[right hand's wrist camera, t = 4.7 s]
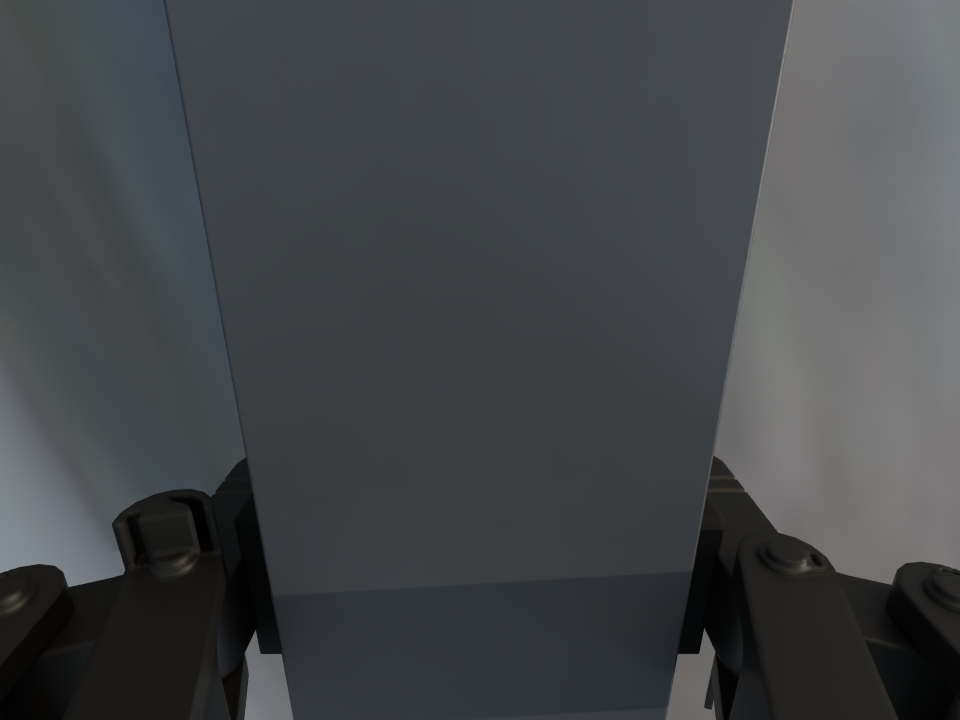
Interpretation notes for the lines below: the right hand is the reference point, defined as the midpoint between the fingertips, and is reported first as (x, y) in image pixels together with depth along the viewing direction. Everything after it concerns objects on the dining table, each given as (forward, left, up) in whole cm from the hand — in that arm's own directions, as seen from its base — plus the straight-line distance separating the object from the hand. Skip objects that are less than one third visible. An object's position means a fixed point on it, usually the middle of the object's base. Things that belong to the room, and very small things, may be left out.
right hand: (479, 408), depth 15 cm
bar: (+23, +25, 0) cm, 34 cm away
